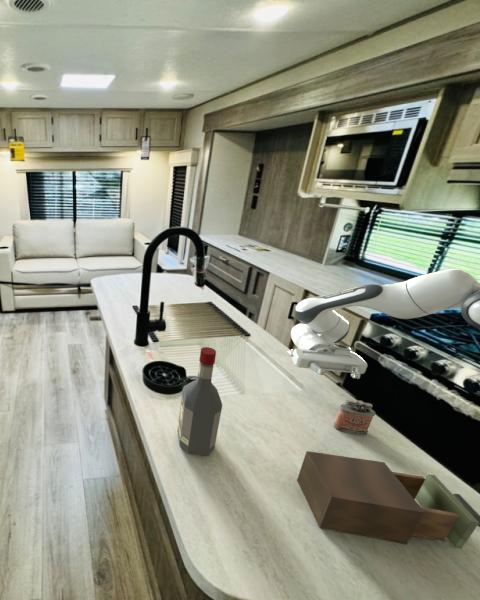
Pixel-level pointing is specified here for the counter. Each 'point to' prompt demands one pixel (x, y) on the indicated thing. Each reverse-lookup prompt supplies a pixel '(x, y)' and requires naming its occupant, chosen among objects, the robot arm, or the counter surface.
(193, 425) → the liquor
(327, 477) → the cabinet
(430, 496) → the drawer
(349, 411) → the small labelled tin can
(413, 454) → the counter surface
